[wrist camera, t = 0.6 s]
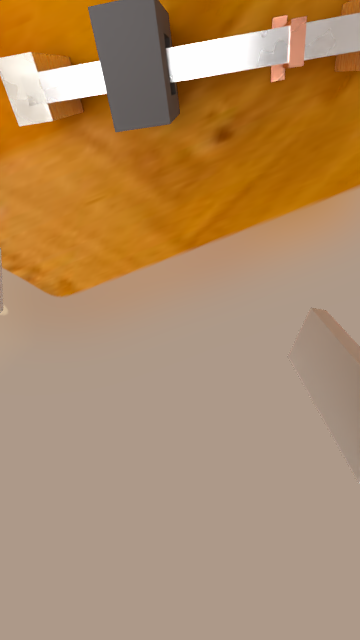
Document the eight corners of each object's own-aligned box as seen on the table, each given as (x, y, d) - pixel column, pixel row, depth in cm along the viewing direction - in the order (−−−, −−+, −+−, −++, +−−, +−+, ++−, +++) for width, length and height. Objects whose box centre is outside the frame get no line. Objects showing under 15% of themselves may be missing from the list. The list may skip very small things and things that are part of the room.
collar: (168, 13, 25) (152, -7, 19) (179, 113, 29) (170, 123, 23) (119, 23, 26) (88, 7, 20) (136, 119, 30) (115, 132, 23)
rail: (381, -3, 27) (436, -28, 20) (370, 65, 29) (415, 63, 23) (39, 62, 31) (-8, 59, 24) (56, 116, 34) (17, 126, 27)
